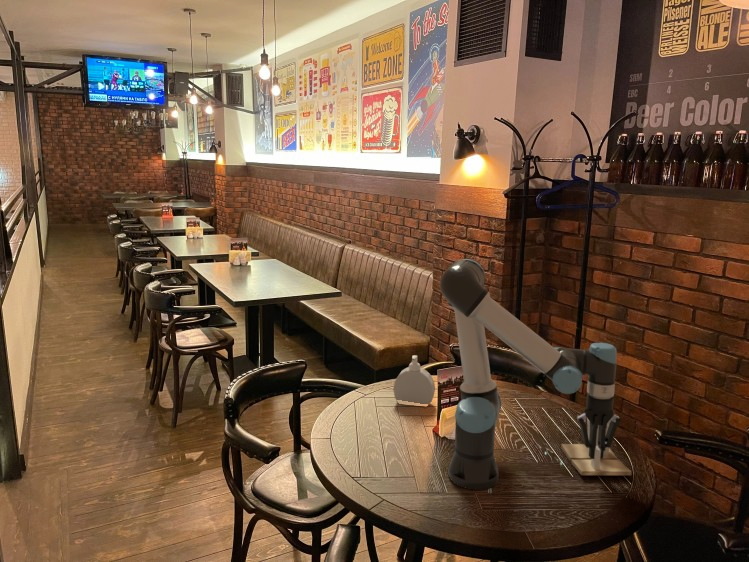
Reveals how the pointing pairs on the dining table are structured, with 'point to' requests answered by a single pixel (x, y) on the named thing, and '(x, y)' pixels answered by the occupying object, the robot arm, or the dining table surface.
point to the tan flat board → (582, 452)
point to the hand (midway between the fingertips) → (595, 467)
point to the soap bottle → (414, 384)
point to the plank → (601, 467)
